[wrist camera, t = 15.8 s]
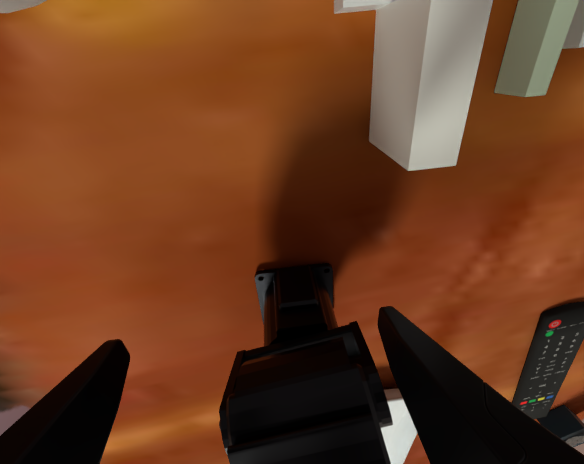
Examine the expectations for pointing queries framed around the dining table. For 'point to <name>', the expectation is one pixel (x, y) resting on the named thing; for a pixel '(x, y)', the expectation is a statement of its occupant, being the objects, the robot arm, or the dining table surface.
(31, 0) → the donut
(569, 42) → the tile
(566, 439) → the abstract loop sculpture
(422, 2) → the scraper
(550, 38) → the green c-shaped block
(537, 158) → the dining table surface
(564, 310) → the remote control
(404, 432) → the salad plate
